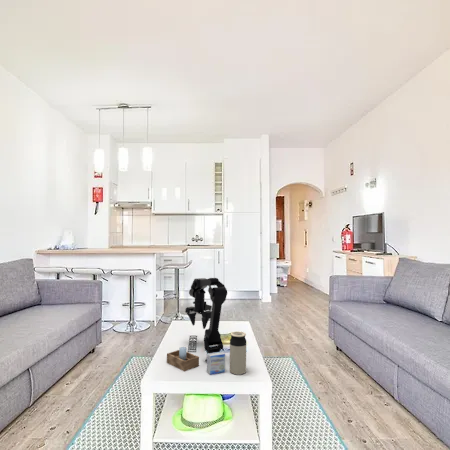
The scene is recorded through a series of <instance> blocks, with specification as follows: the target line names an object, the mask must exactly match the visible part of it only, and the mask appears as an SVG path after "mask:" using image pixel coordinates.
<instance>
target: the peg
mask: <svg viewBox="0 0 450 450" xmlns="http://www.w3.org/2000/svg"><path fill="white" fill-rule="evenodd" d="M178 350H179V358H180V359H182V360H184V361H186V352H187V347H185V346H181V347H179V349H178Z"/></svg>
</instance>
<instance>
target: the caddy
mask: <svg viewBox="0 0 450 450" xmlns="http://www.w3.org/2000/svg"><path fill="white" fill-rule="evenodd" d="M166 364H168V365H171V366H172V367H174V368H176V369H179V370H181V371H183V372H186V371H189V370H192V369H194V368H197V367H199V366H200V357H199V356H198V355H196V354H193V353H191V352H188V351H186V361H184V360H182V359H180V358H179V349H177V350H175V351H171V352H168V353H166Z"/></svg>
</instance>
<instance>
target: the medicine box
mask: <svg viewBox="0 0 450 450" xmlns="http://www.w3.org/2000/svg"><path fill="white" fill-rule="evenodd" d="M206 359H207V362H206V372H207V373H208V374H209V375H211V376H212V375H216V374H222V373H225V372H226V371H225V370H226V353H224V351H220V352H215V353H207V352H206Z"/></svg>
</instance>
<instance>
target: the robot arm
mask: <svg viewBox="0 0 450 450" xmlns="http://www.w3.org/2000/svg"><path fill="white" fill-rule="evenodd" d="M212 286H216V287H212ZM205 288H208V289H207V292H208V294H209V299H210V300H211V302H212V305H210V304H207V301H205V295H206V291H205ZM188 294H189V296H190V297H192V298H193V299H194V301H192V304H193V305H194V306H193V305H191V306H188V307H187V306H186V307H185V313H186V315H187V316H188V318H189V320H190V322H191V325H192V326H195V324H196V316H197V314H199V315H201V325H202V329H203V330H205V331H204V335H203V336H204V338H203V347H204V351H206V354H207V353H215V352H221V350H224V345H223V341H222V339H221V333H220V332H219V328H220V319H221V312H222V306H223V304H224V303H225V302H226V299H227V295H228V290H227V288H226V286H225V284H223V283H222V282H221V281H220V279H218V278H217V277H209V278H205V277H202V278H194V279H193V281H192V283H191V285H190V289H189V291H188ZM208 322H209V327H208V329H206V327H207V324H208ZM204 361H205V362H206V363H207V358H206V359H205V360H204Z"/></svg>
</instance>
